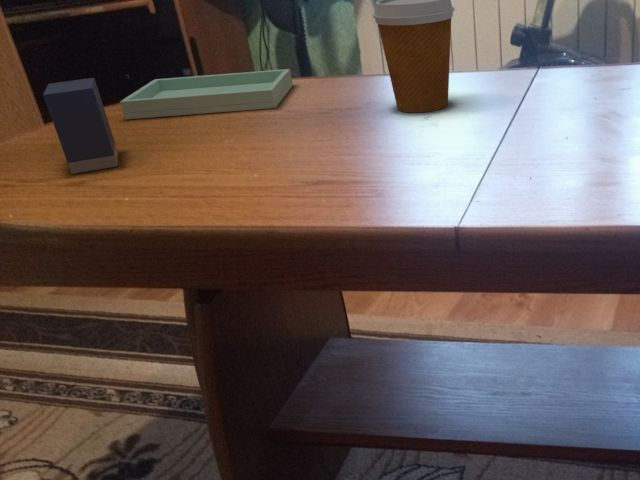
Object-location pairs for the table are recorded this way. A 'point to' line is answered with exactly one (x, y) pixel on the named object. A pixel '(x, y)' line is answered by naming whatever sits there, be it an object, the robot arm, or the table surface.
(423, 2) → the disposable coffee cup
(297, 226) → the table surface
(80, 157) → the eraser
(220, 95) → the tray
